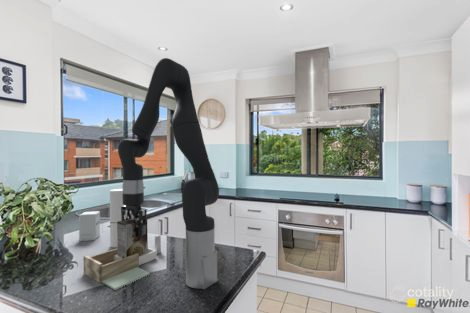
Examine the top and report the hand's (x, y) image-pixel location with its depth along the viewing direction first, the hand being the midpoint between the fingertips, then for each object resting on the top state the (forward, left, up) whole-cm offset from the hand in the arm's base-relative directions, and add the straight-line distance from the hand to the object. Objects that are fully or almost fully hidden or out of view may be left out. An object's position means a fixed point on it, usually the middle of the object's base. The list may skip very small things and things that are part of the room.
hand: (133, 235), depth 95 cm
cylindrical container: (+23, -7, -10) cm, 26 cm away
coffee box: (0, 0, -10) cm, 10 cm away
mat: (-10, +8, -10) cm, 17 cm away
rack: (0, +8, -10) cm, 13 cm away
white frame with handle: (0, -3, -10) cm, 11 cm away
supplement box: (+43, -3, -10) cm, 44 cm away
